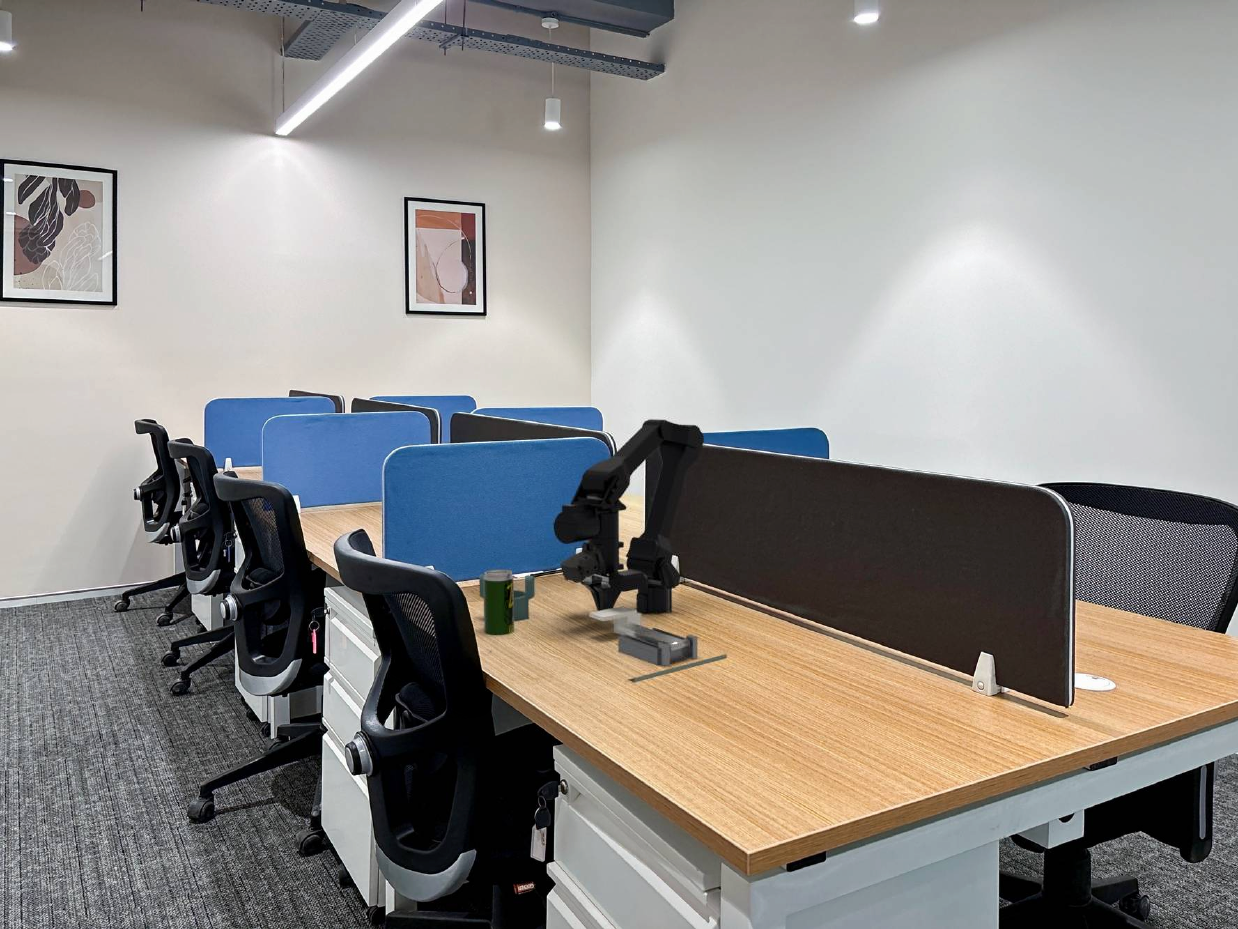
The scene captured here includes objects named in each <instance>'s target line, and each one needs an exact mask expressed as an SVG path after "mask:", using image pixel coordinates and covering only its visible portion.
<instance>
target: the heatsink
mask: <svg viewBox="0 0 1238 929" xmlns="http://www.w3.org/2000/svg"><path fill="white" fill-rule="evenodd" d="M651 629H652V630H654V631H657V632H660V633H663V634H666V635H669V636H671V637H674V638H677V639H680V640H684V639H688V640H689V641H690V647H688V648H684V649H680V650H676V651H672V652H670V643H668V642H665V641H661V642H658V644H655V643H652V642H649V641H647V640H644V639H641V638H639V637H636V636H629V635H626V634H625V635H620V634H619V635H618V644H617V645H618V647H617V648H618V652H619V653H623V654H624V655H626V656H627V655H628V656H630V657H632V658H636V659H638V660H641V661H643V662H647V663H649V664H652V665H655V666H661V667H664V668H665V667H670V666H671V664H670V663H672V662H677V661H680V660H684V659H690V660H697V659H698V636H697V635H695V634H687V635H686V636H685V637H684V636H682V635H679V634H675V633H672V632H669V631H665V630H662V629H658V628H655V627H652V628H651Z"/></svg>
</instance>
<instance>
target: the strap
mask: <svg viewBox="0 0 1238 929" xmlns="http://www.w3.org/2000/svg"><path fill="white" fill-rule="evenodd" d="M617 630H620V631H622V632H625V633H628V634H631V635H633V636H632V637H639V638H641V639H644V640H647V641H649V642H652V643H655V644H658V642H661V641H665V642H668V643H670V652H672V651H676V650H680V649H684V648H688V647H690V641H689V640H688V639H684V640H680V639H677V638H674V637H671V636H669V635H666V634H663V633H660V632H657V631H654V630H652V628H648V627H646V626H644V625H641V626H640V625H637V624H635V623H632V622H629V623H624V624H620V625H617Z"/></svg>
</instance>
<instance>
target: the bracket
mask: <svg viewBox="0 0 1238 929" xmlns="http://www.w3.org/2000/svg"><path fill="white" fill-rule="evenodd" d="M484 576H485V573H484V574H479V577H478V578H479V581H478V582H479V587H478V588H479V597H480V598H482V599H484V586H483V578H484ZM524 586H525V588H524V590H520V589H514V623H515V622H520V621H525V620H529V619H530V616H529V615H530V610H529V607H530V606H529V604H530V602H529V601H530V600H532V599H533V598H535V591H536V590H535V575H525V578H524Z"/></svg>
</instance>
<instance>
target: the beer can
mask: <svg viewBox="0 0 1238 929" xmlns="http://www.w3.org/2000/svg"><path fill="white" fill-rule="evenodd" d="M484 574H485V576H484V578H483V586H484V598H483V626H484V627H483V628H484V630H483V631H484V632H483V633H484V634H485V635H489V636H505V635H510V634H512V633H514V632H515V622H514V590H515V589H514V587H515V585H514V576H513V571H511V570H510V569H490V570H487V571H485V572H484Z"/></svg>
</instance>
